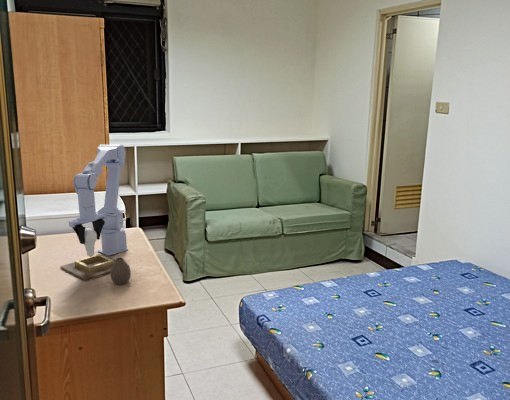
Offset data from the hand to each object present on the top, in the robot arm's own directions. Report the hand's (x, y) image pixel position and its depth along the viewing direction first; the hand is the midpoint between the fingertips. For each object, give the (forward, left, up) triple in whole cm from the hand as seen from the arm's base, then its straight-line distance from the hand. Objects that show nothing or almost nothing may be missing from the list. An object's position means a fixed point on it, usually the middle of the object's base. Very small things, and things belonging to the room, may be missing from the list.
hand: (89, 241), depth 184 cm
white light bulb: (0, 0, -6) cm, 6 cm away
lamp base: (0, +1, -10) cm, 10 cm away
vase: (+1, +20, -11) cm, 23 cm away
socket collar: (0, +1, -10) cm, 10 cm away
